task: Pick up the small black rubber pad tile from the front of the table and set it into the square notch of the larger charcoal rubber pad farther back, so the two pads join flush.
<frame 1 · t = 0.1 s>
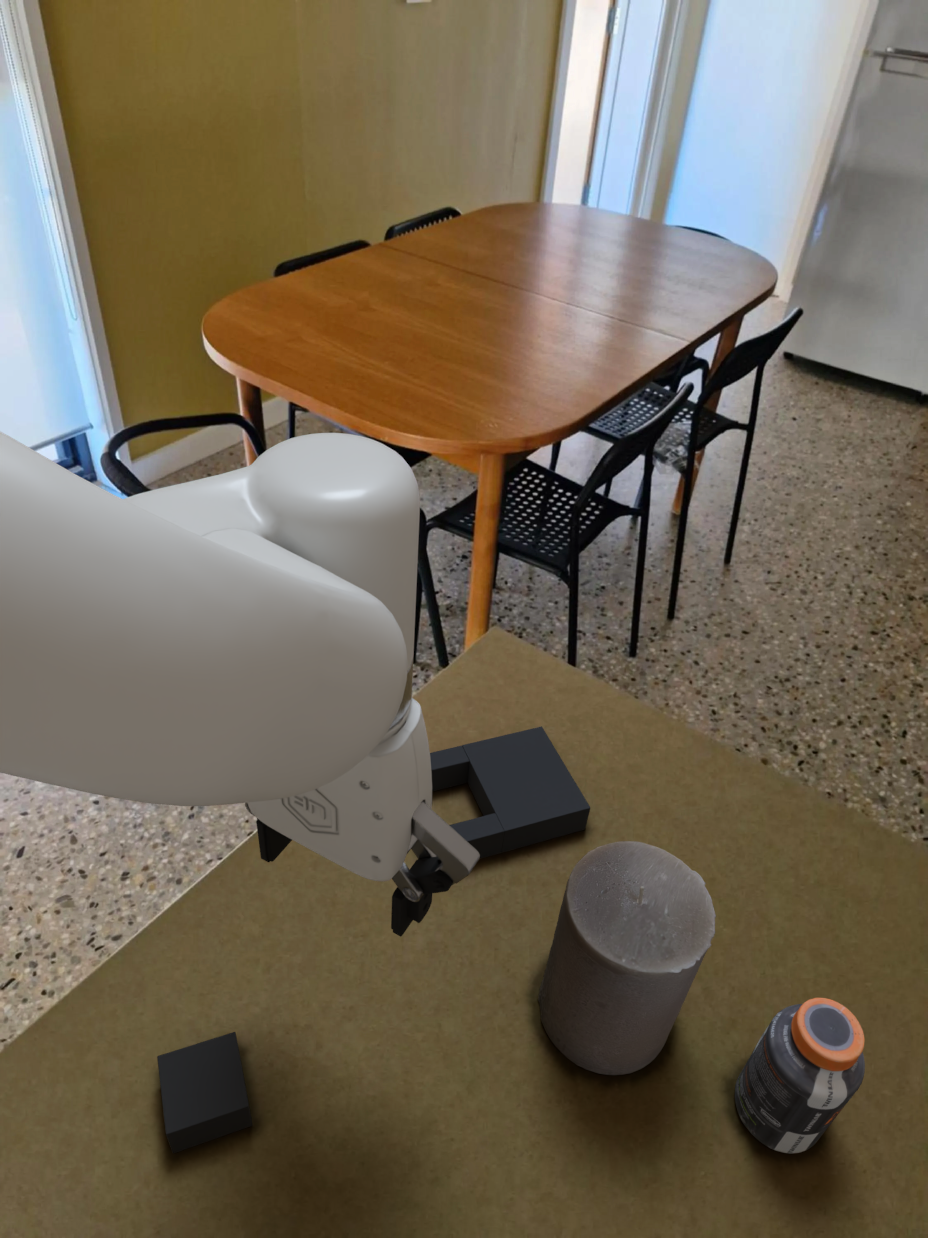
hand: (343, 879, 55), 15 cm above the counter, tool pointing down, fingers open, 9 cm apart
pill bottle: (775, 1109, 61), on the counter
pillar candle: (604, 1010, 65), on the counter
large pad: (489, 805, 79), on the counter
small pad: (207, 1101, 58), on the counter
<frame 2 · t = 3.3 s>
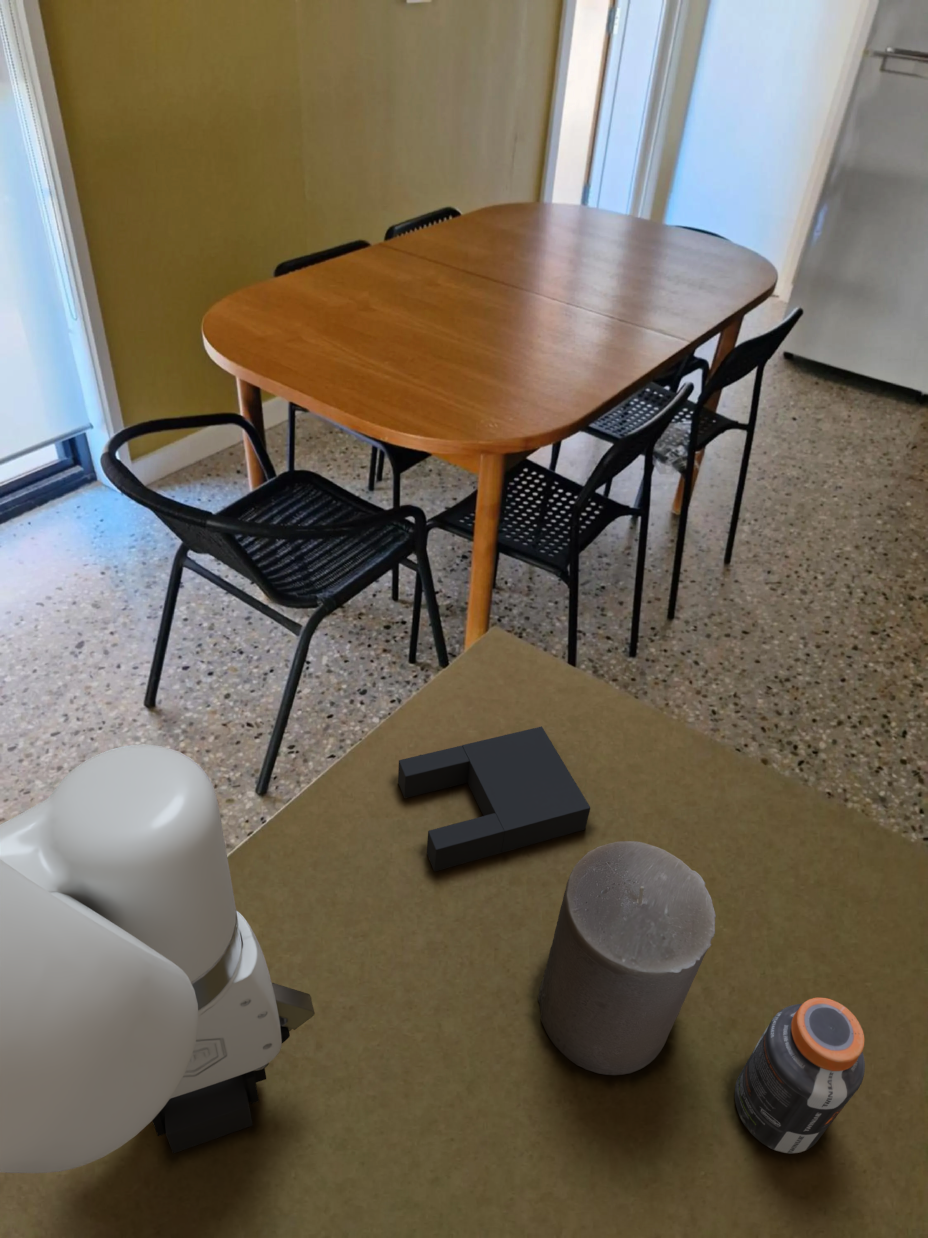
hand: (206, 1094, 58), 1 cm above the counter, tool pointing down, fingers closed on small pad, 5 cm apart
small pad: (207, 1101, 58), on the counter, touching gripper
everything else where it was.
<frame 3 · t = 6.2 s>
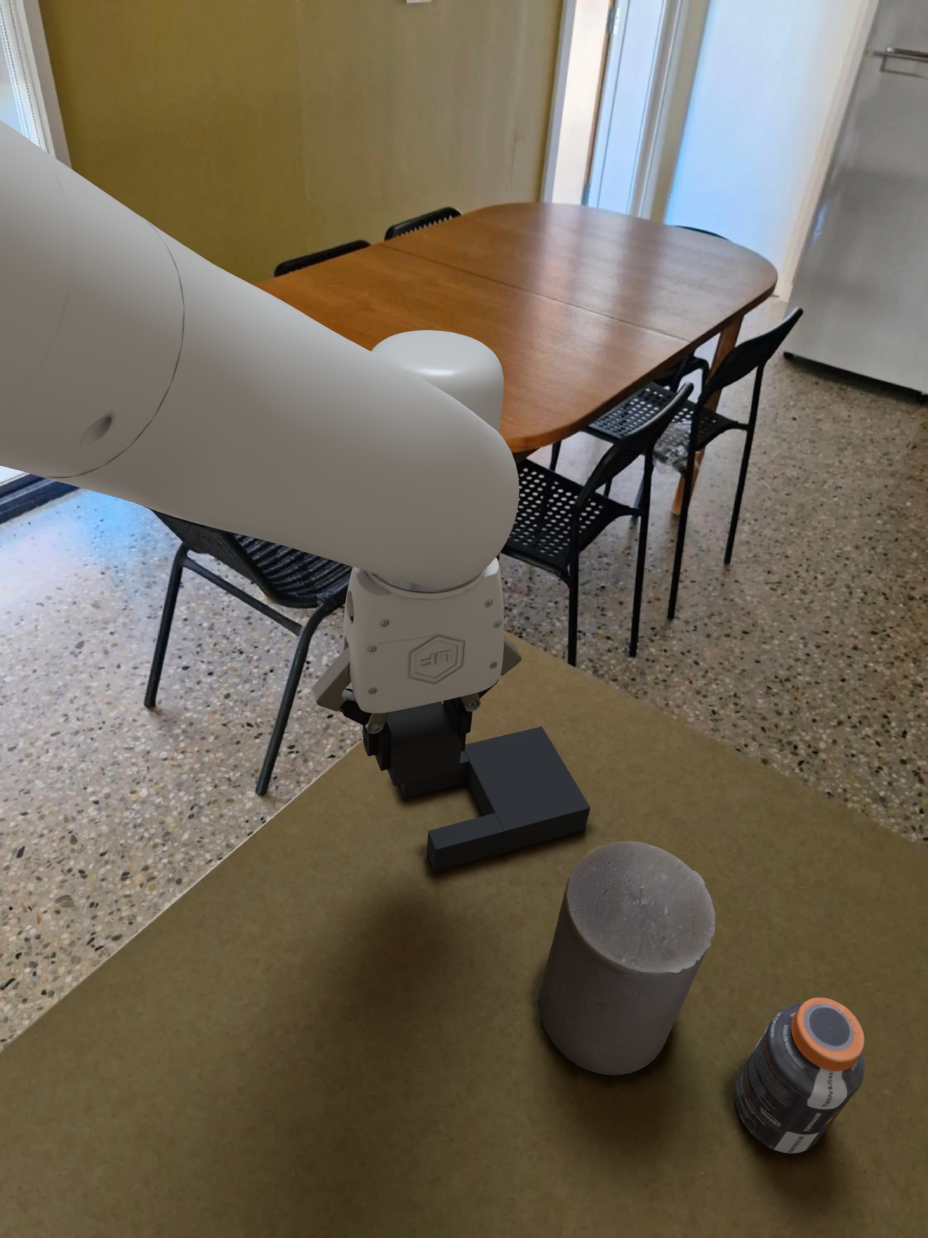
hand: (416, 745, 65), 14 cm above the counter, tool pointing down, fingers closed on small pad, 5 cm apart
small pad: (416, 753, 66), point 13 cm above the counter, touching gripper
everything else where it was.
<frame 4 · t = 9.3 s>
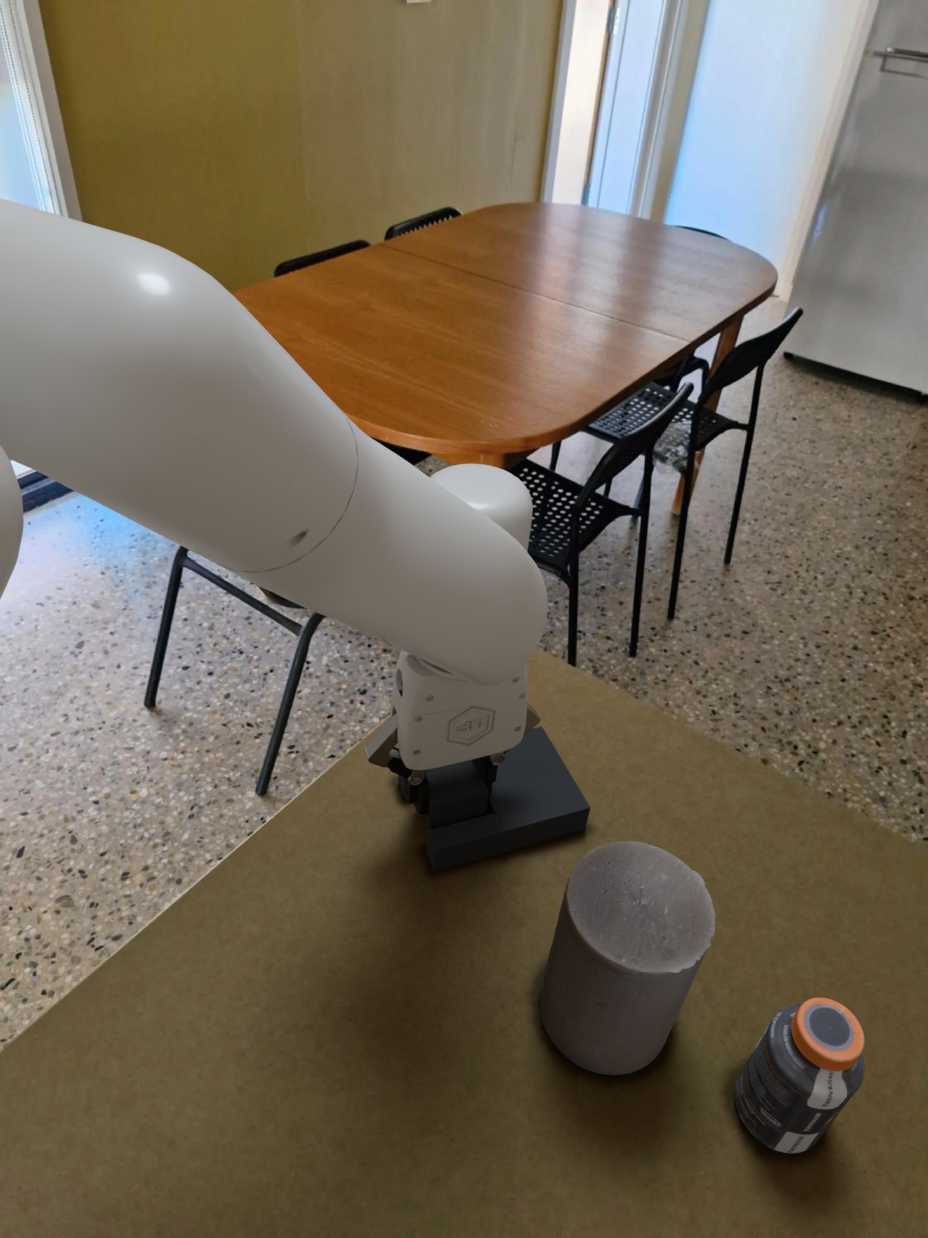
hand: (449, 793, 75), 3 cm above the counter, tool pointing down, fingers closed on small pad, 5 cm apart
small pad: (448, 799, 76), point 2 cm above the counter, touching gripper
everything else where it was.
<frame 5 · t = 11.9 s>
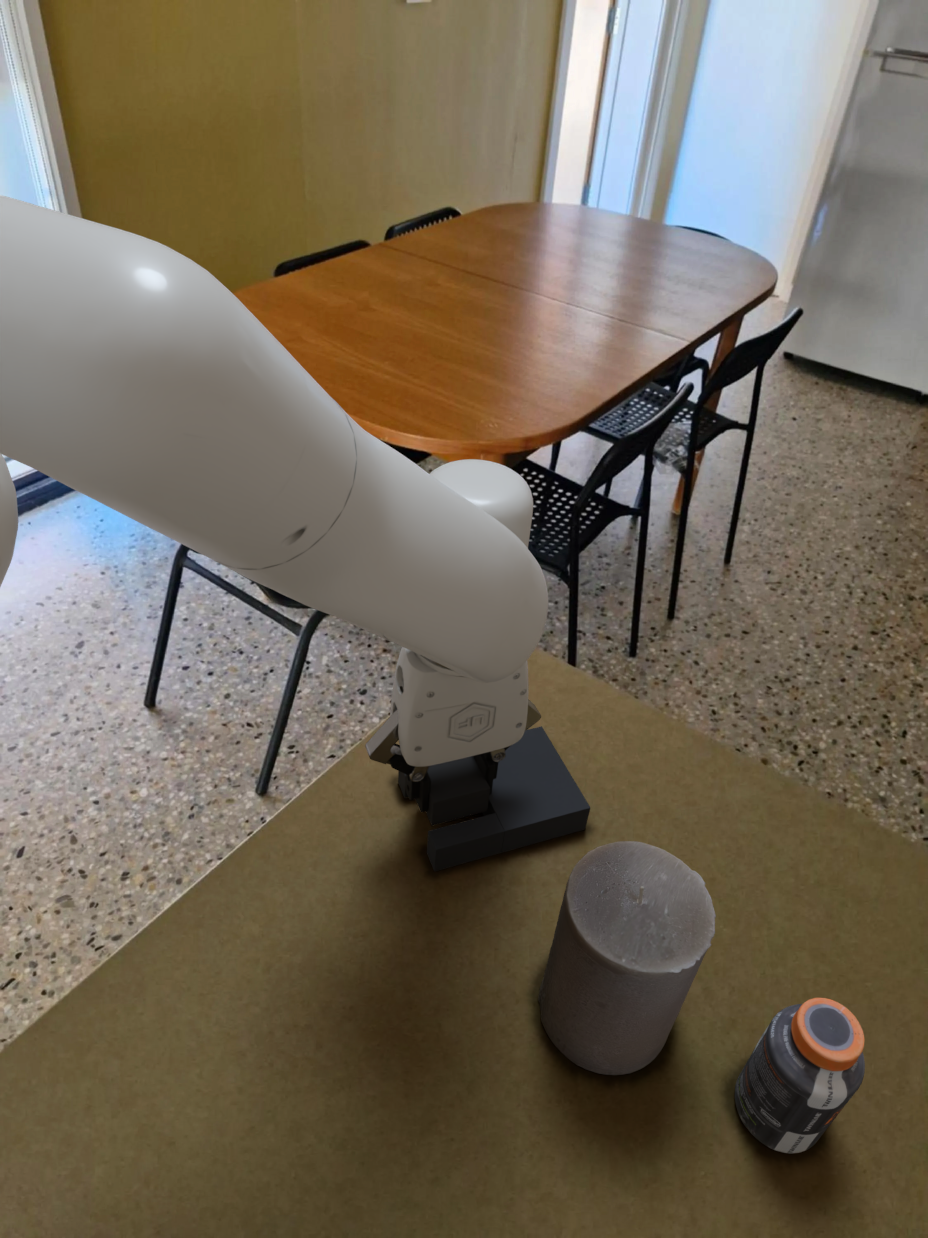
hand: (450, 789, 75), 4 cm above the counter, tool pointing down, fingers closed on small pad, 4 cm apart
small pad: (449, 796, 76), point 3 cm above the counter, touching gripper
everything else where it was.
when the fingers open (3 cm above the counter, at t = 13.8 s): small pad drops 2 cm, on the counter.
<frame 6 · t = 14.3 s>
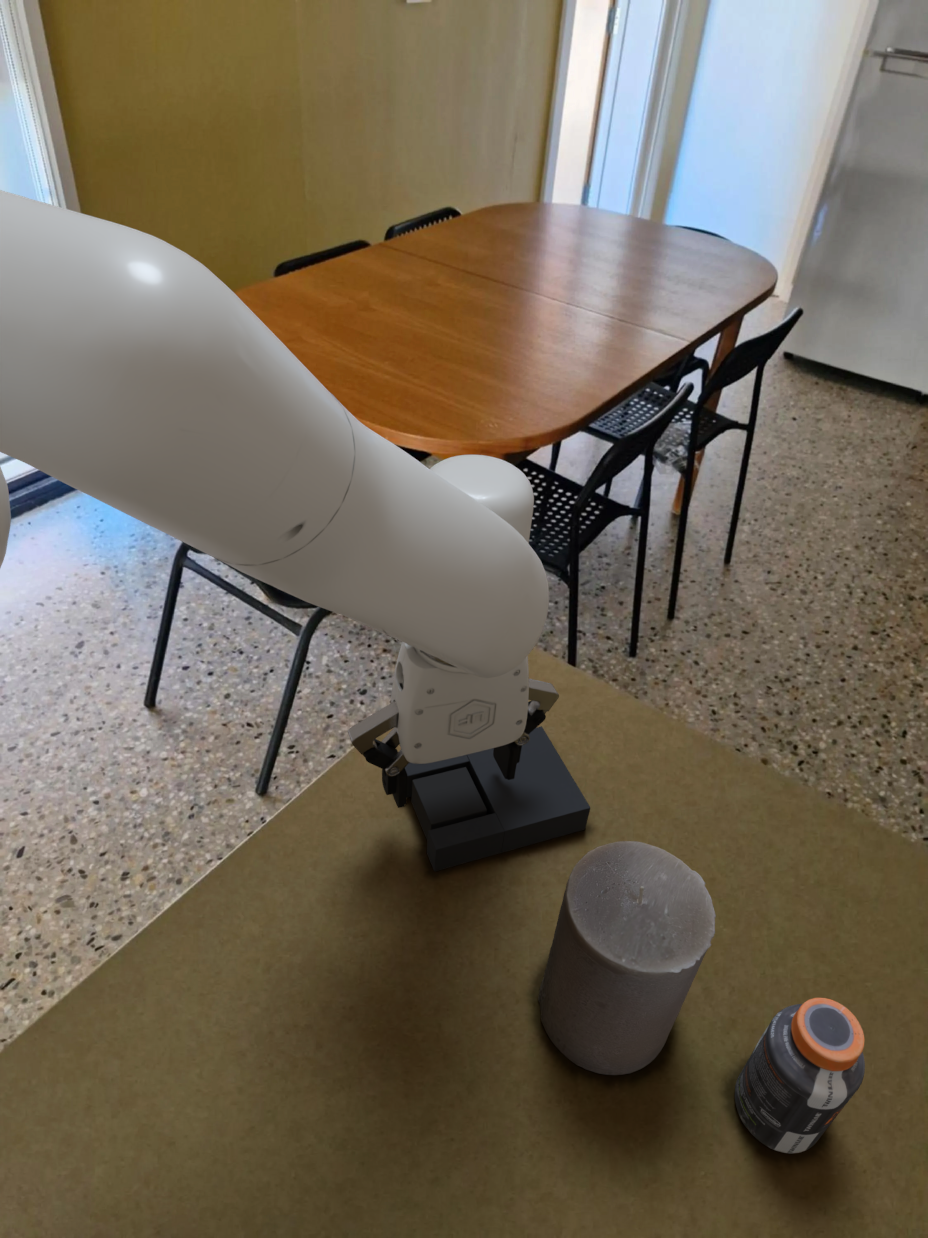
hand: (450, 780, 75), 5 cm above the counter, tool pointing down, fingers open, 9 cm apart
small pad: (447, 816, 78), on the counter
everything else where it was.
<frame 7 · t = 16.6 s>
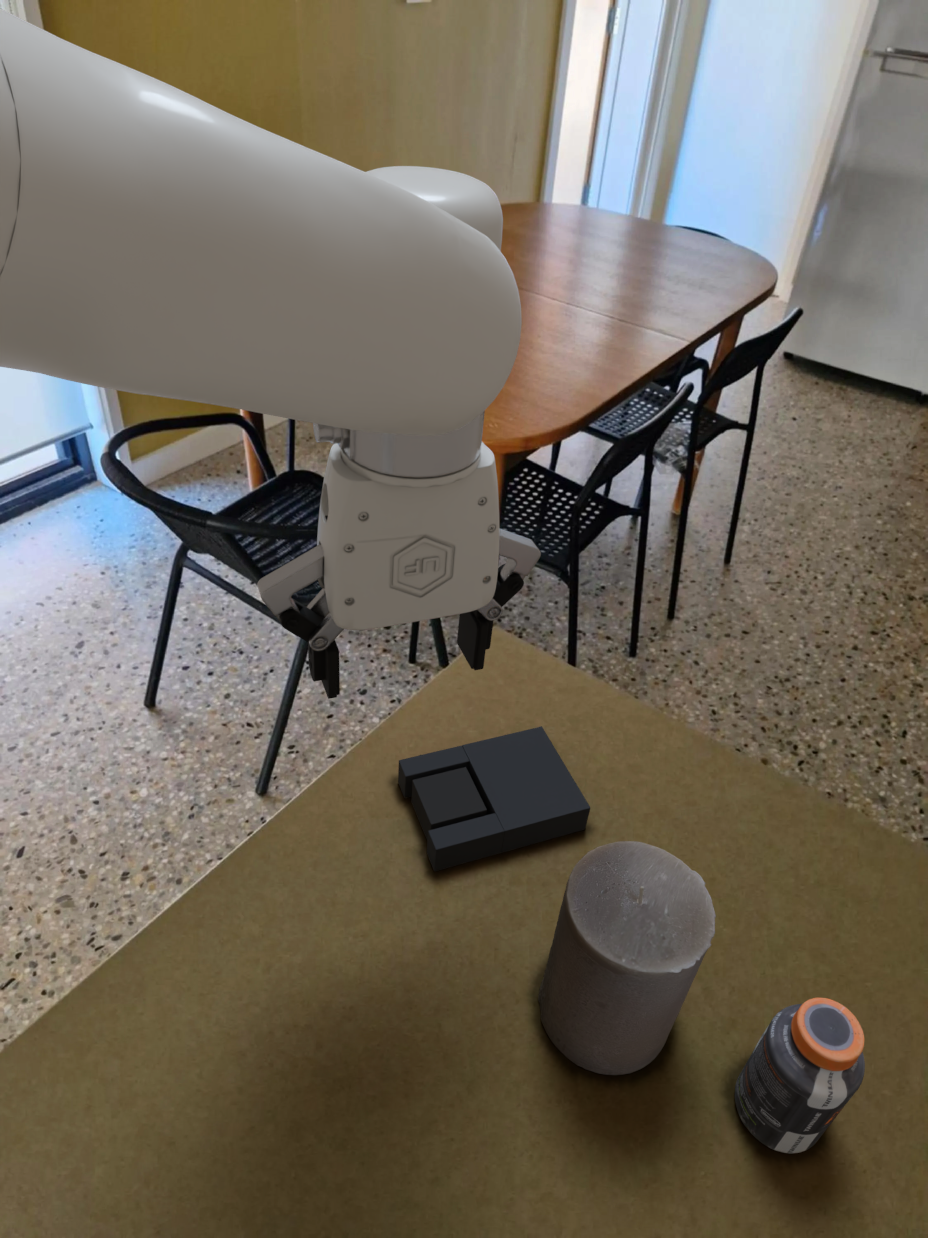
hand: (400, 669, 58), 23 cm above the counter, tool pointing down, fingers open, 9 cm apart
nothing on the counter moved.
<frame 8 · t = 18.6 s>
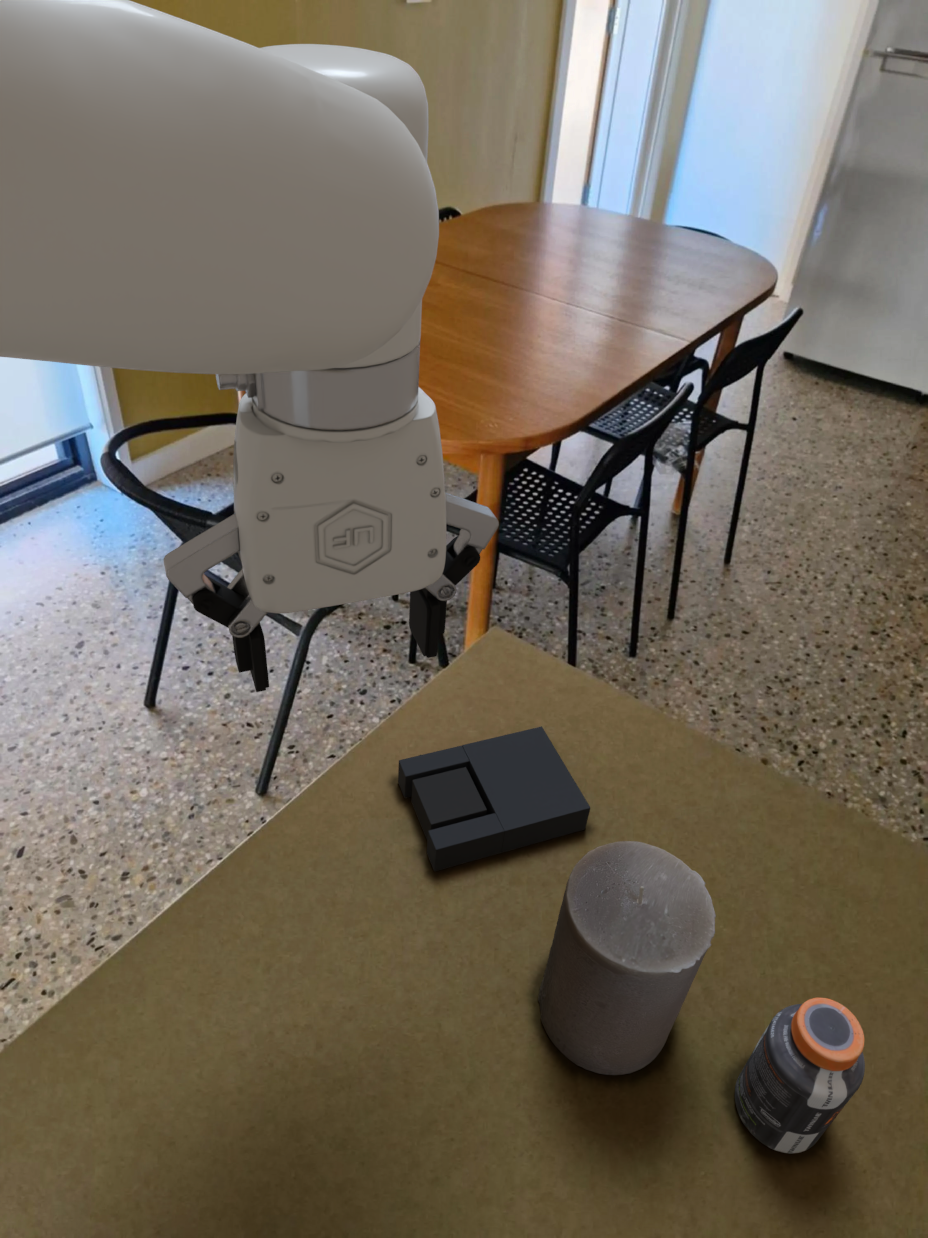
hand: (342, 658, 51), 28 cm above the counter, tool pointing down, fingers open, 9 cm apart
nothing on the counter moved.
at the end: small pad 0.1 cm from the target spot on the large pad, point 0.0 cm above the large pad's base; small pad tilted 0°; the gripper is holding nothing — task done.
